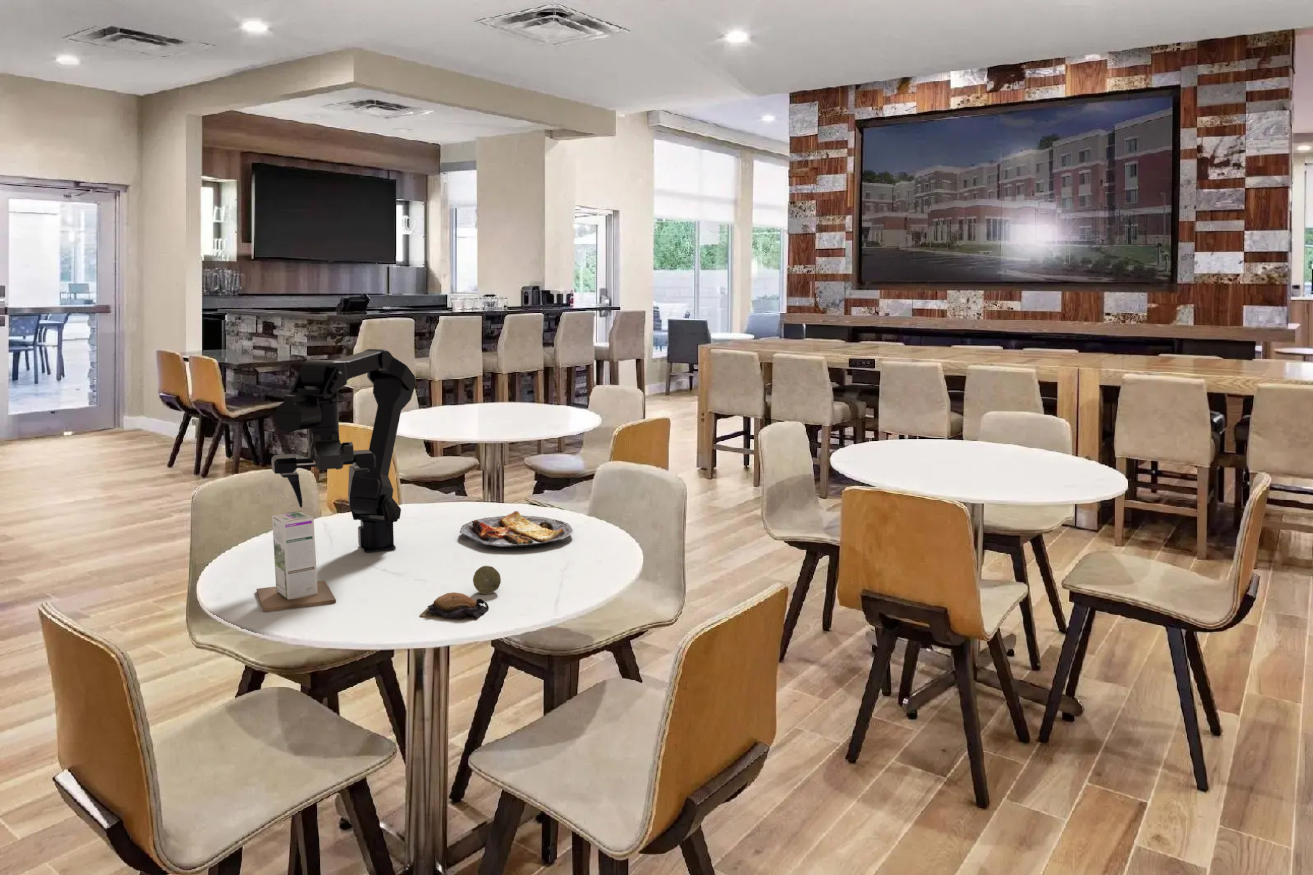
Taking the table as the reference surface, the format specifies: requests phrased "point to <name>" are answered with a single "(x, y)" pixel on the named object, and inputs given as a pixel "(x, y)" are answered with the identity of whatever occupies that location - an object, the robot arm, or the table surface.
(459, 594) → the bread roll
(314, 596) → the plate
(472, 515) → the table surface
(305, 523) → the syrup box
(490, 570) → the lime
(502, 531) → the food plate
